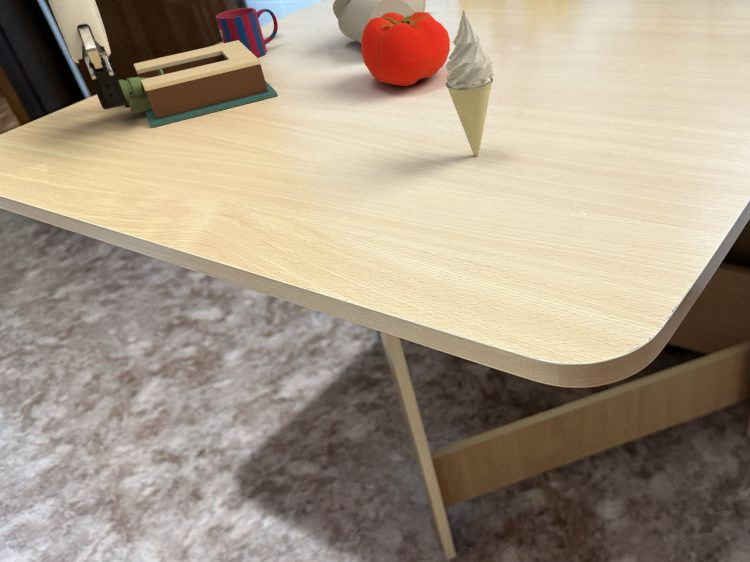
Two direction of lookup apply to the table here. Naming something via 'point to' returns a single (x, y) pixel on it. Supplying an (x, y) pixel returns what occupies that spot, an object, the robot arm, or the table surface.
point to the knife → (136, 93)
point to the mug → (245, 28)
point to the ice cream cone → (470, 82)
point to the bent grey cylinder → (370, 13)
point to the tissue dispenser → (202, 82)
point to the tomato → (404, 47)
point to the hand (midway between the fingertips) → (112, 97)
